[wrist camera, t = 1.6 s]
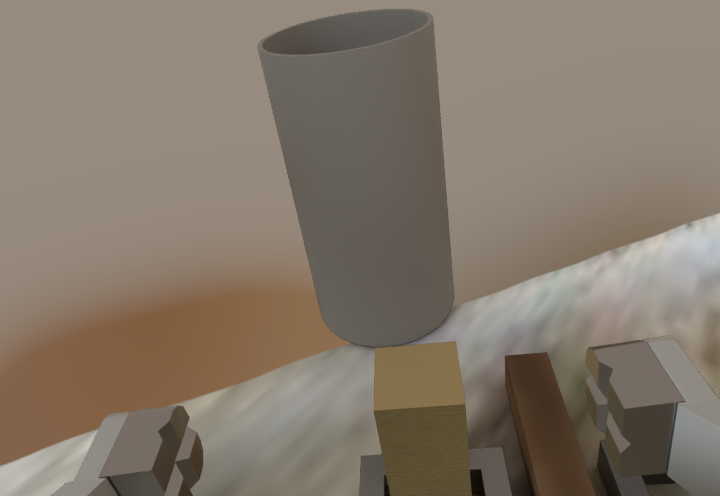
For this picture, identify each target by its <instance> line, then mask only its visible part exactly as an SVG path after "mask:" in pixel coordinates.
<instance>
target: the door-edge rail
mask: <svg viewBox="0 0 720 496" xmlns="http://www.w3.org/2000/svg"><path fill="white" fill-rule="evenodd" d="M505 385H506V389H507V393H508V398H509V402H510V406H511V410H512V414H513V419H514V423H515V427H516V431H517V435H518V440H519V444H520V448H521V452H522V456H523V460H524V465H525V469H526V473H527V477H528V481H529V486H530V490H531V494H532V496H596V495H595V492H594V489H593V486H592V483H591V480H590V477H589V474H588V471H587V468H586V465H585V462H584V460H583V457H582V454H581V451H580V448H579V445H578V442H577V439H576V436H575V433H574V430H573V427H572V424H571V422H570V419H569V416H568V413H567V410H566V407H565V404H564V401H563V398H562V395H561V392H560V389H559V387H558V384H557V381H556V378H555V375H554V372H553V369H552V366H551V363H550V360H549V357H548V354H547V352H546V353H534V354H521V355H509V356H505Z"/></svg>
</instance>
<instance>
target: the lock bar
mask: <svg viewBox="0 0 720 496" xmlns="http://www.w3.org/2000/svg"><path fill="white" fill-rule="evenodd" d="M374 415H375V420H376V425H377V430H378V435H379V440H380V445H381V450H382V455H383V460H384V465H385V470H386V476H387V481H388V486H389V491H390V496H472V492H471V478H470V464H469V450H468V436H467V422H466V408H465V399H464V393H463V386H462V380H461V373H460V367H459V360H458V354H457V347H456V341H454V342H443V343H431V344H419V345H407V346H396V347H384V348H375V375H374Z"/></svg>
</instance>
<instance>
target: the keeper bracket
mask: <svg viewBox="0 0 720 496" xmlns="http://www.w3.org/2000/svg"><path fill="white" fill-rule="evenodd" d="M597 467H598V469H599V472H600V475H601V478H602V480H603V483H604V486H605V489H606V491H607V494H608V496H650V495H649V493H648V490H647V488H646V486H645V484H663V483H676V482H675V481H674V480H672V479H671V478H670V477H669V476H667V473H662V474H651V475H640V476H629V477H619V476H618V474H617V472H616V470H615V468H614V466H613V463H612V461H611V459H610V457H609V455H608V453H607V451H606V448H605V440H600V447H599V455H598V464H597Z"/></svg>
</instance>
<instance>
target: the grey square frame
mask: <svg viewBox="0 0 720 496" xmlns="http://www.w3.org/2000/svg"><path fill="white" fill-rule="evenodd" d="M468 450H469V464H470V478H471V492H472V494H483V496H512V494H511V489H510V484H509V479H508V474H507V469H506V464H505V460H504V455H503V450H502V447H492V448H477V449H468ZM359 496H390V491H389V486H388V481H387V476H386V470H385V465H384V460H383V455H369V456H361V466H360V491H359Z"/></svg>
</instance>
